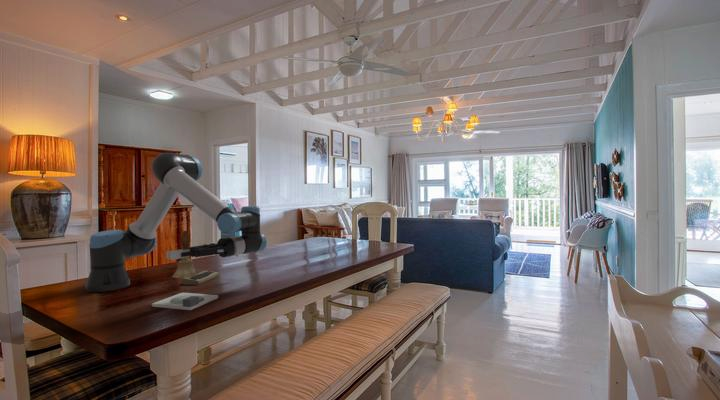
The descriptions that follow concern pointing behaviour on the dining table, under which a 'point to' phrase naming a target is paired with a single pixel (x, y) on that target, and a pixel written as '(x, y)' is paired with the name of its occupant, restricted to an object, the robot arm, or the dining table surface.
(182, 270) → the hand bell
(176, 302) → the charging dock
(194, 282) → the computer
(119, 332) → the dining table surface
